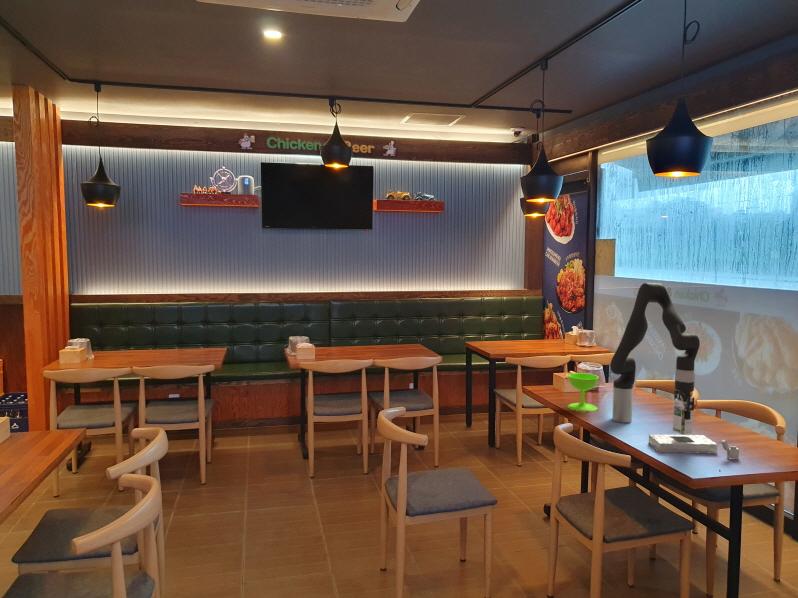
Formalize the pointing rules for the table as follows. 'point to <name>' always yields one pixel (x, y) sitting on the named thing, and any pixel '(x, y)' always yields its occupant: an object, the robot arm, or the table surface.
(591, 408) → the wineglass
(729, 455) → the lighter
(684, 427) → the syrup box
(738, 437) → the table surface
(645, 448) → the table surface
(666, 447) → the white flat block
